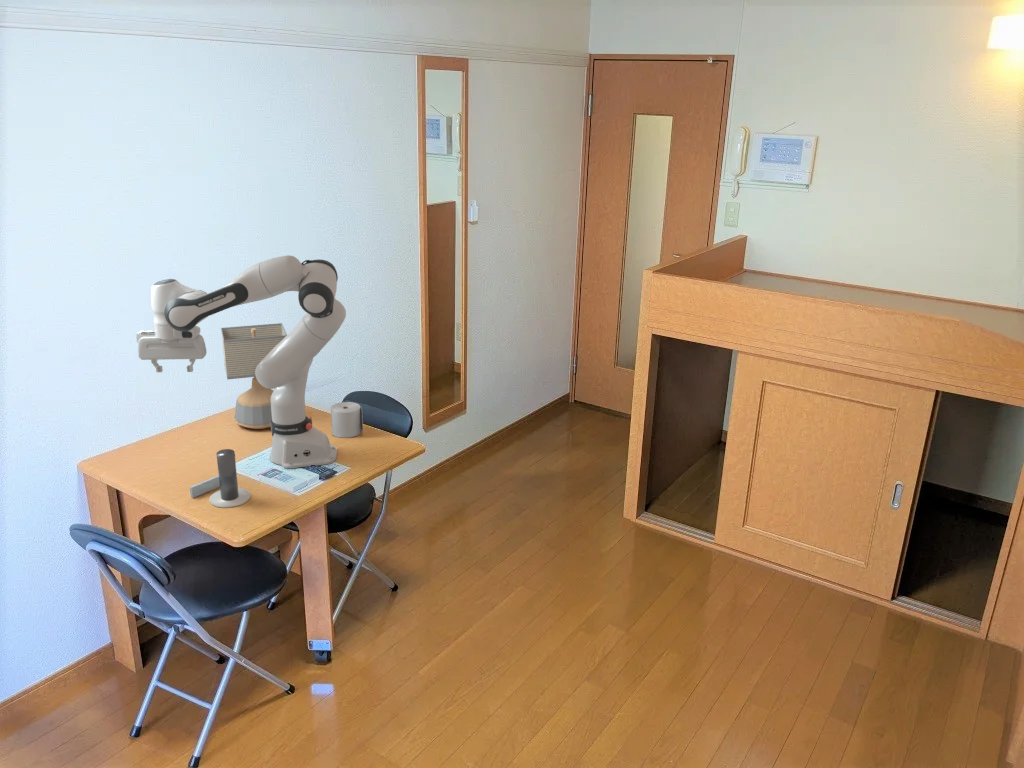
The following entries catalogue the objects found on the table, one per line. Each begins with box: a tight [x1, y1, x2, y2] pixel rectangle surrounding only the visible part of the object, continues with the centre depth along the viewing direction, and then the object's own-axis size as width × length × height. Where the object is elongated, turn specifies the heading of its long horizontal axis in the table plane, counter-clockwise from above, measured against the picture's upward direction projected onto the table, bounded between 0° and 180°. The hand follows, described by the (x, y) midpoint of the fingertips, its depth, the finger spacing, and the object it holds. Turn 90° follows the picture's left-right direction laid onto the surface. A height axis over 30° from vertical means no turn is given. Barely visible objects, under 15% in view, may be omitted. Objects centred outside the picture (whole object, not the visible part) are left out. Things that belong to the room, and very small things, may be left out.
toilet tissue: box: [330, 401, 364, 439], centre depth 306 cm, size 11×12×10 cm
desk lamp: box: [220, 322, 288, 430], centre depth 308 cm, size 22×19×37 cm
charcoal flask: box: [216, 448, 239, 501], centre depth 256 cm, size 5×5×15 cm
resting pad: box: [208, 487, 251, 509], centre depth 258 cm, size 12×12×1 cm
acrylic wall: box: [189, 474, 220, 499], centre depth 263 cm, size 14×1×4 cm, turn 144°
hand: (175, 371), depth 268 cm, fingers open, 8 cm apart
